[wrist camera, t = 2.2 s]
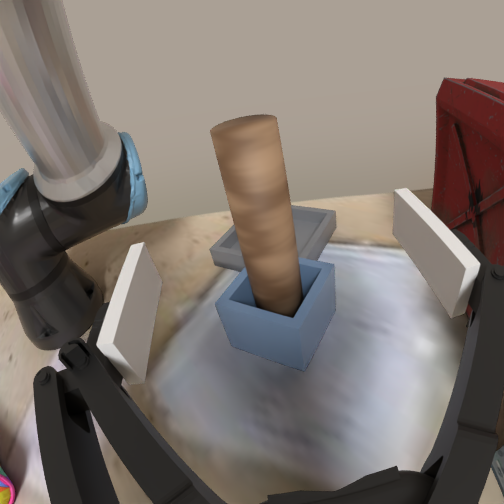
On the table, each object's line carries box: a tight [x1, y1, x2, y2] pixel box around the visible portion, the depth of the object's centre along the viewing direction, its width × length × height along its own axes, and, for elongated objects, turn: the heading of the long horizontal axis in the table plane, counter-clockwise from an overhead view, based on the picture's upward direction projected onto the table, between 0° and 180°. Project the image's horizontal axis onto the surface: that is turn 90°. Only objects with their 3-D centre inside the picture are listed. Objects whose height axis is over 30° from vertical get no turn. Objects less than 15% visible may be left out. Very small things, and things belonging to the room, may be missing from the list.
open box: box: [215, 257, 336, 372], centre depth 34 cm, size 9×9×7 cm
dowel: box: [210, 115, 304, 318], centre depth 29 cm, size 5×5×22 cm
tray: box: [210, 205, 336, 272], centre depth 48 cm, size 14×14×3 cm
